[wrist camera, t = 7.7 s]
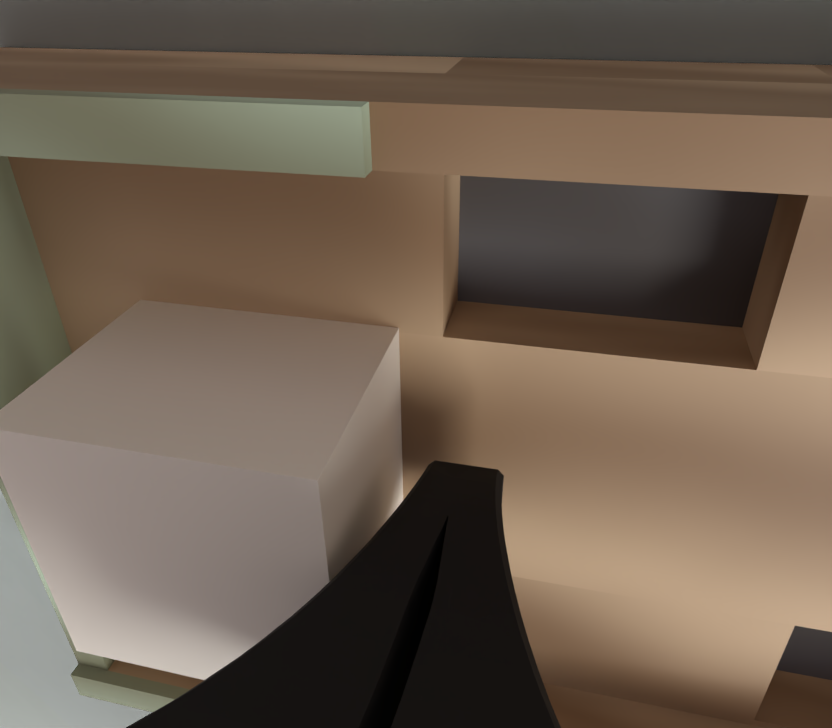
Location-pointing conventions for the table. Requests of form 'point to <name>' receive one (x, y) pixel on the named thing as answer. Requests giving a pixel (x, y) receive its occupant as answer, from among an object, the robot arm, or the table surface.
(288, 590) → the block
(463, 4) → the table surface
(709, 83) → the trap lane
